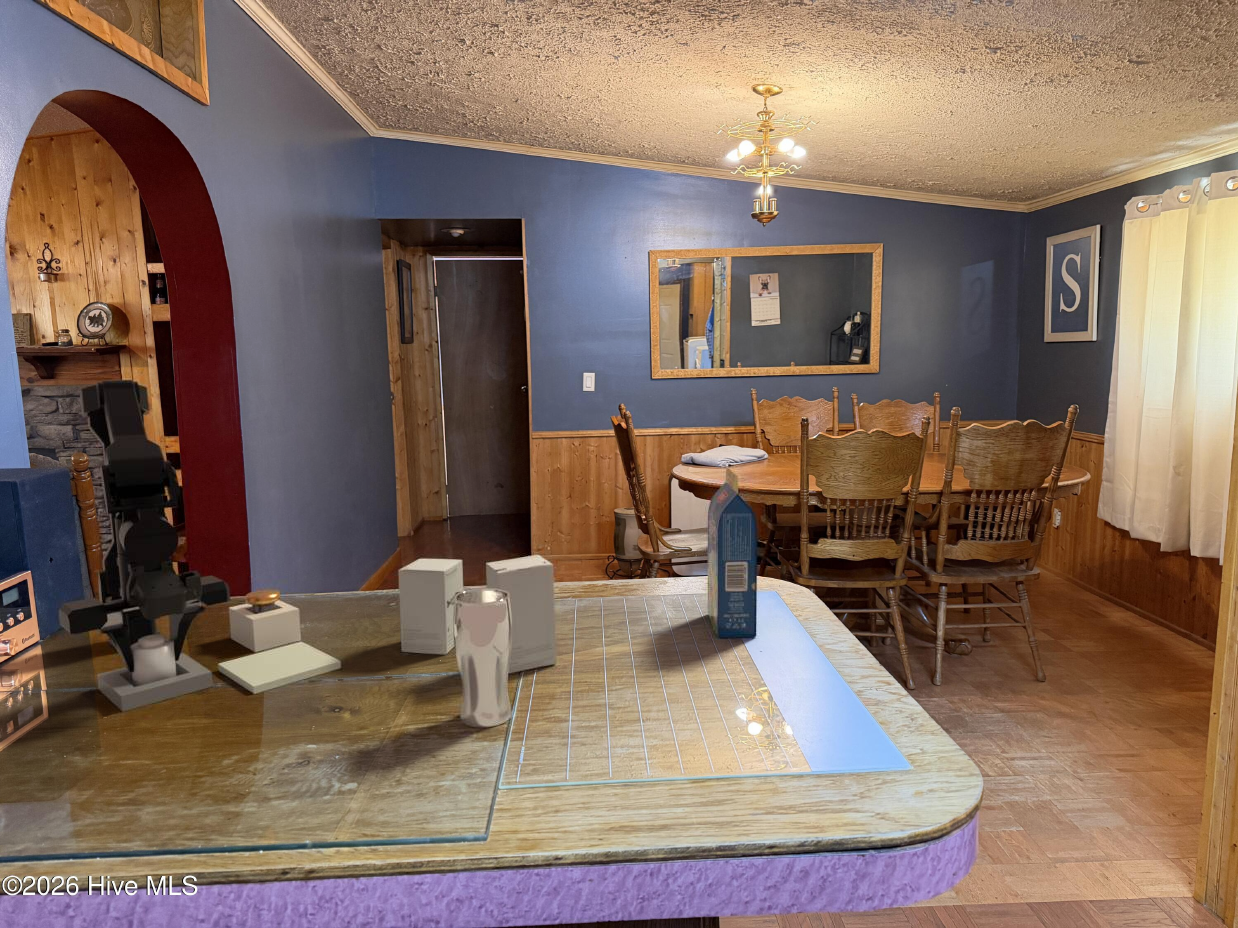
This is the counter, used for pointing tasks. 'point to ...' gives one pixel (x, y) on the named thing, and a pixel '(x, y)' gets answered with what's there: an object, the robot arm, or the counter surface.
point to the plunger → (262, 600)
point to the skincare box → (528, 609)
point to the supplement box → (429, 604)
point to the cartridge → (153, 659)
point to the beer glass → (483, 654)
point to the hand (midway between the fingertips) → (153, 665)
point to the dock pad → (278, 667)
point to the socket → (154, 685)
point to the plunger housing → (264, 626)
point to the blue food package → (732, 562)
